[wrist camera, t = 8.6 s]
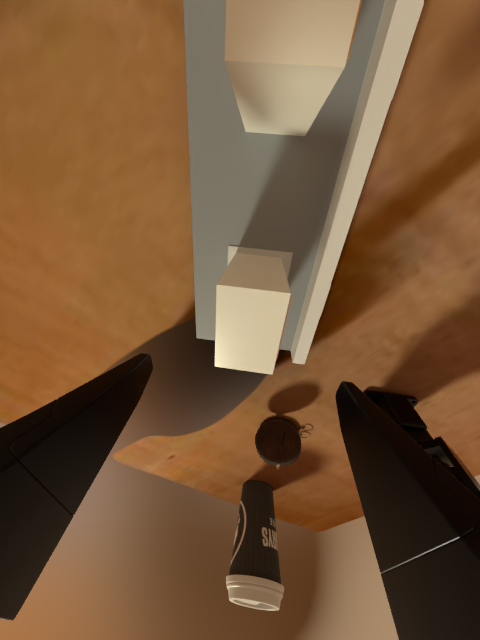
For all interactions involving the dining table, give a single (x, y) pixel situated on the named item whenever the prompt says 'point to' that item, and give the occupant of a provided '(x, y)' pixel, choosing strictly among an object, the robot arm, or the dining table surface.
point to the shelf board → (285, 164)
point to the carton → (251, 313)
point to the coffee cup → (255, 551)
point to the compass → (278, 442)
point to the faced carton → (286, 59)
